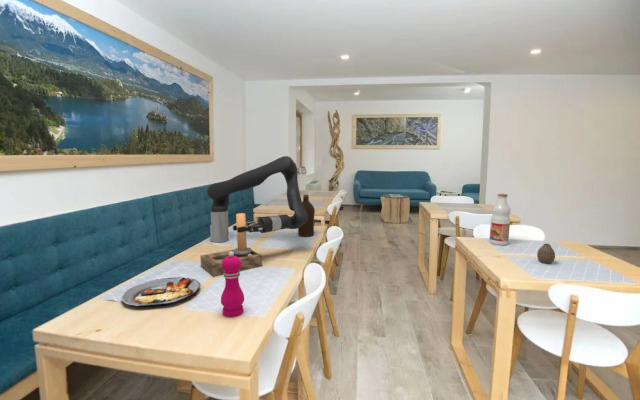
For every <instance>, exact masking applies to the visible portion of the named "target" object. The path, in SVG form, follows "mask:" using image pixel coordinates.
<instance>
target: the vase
mask: <svg viewBox="0 0 640 400" xmlns="http://www.w3.org/2000/svg"><path fill="white" fill-rule="evenodd" d="M536 256H537V260H538V262H540V263H541V264H545V265H551V264H552V263H553V262H554V261H555V259H556V252H555V249H553V247H552V246H551V244H550V243H543V244H542V246H541V247H539V248H538V251H537V254H536Z"/></svg>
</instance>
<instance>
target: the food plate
mask: <svg viewBox="0 0 640 400" xmlns="http://www.w3.org/2000/svg"><path fill="white" fill-rule="evenodd" d="M199 288H201V283H200V281H198V280H197V279H195V278H190V277H182V276H177V277H166V278H156V279H151V280H149V281H145V282H143V283H140V284H137V285H134V286H132V287H130V288H129V289H127V290H126V291H125V292H124V293H123V294H122V295H121V297H120V298H121V301H122V302H123V303H125V304H127V305H130V306H135V307H138V306H156V305H162V304H163V305H164V304H171V303H176V302H180V301H181V300H184V299H188V298H189V297H191V296H192V295H194V294H196V293H197V292H198V291H199Z"/></svg>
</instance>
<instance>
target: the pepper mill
mask: <svg viewBox="0 0 640 400" xmlns="http://www.w3.org/2000/svg"><path fill="white" fill-rule="evenodd" d="M240 268H241V260H240V259H239V258H238V257H237V256H234V252H232V251H230V252H229V253H228V257H226V258H224V259H223V261H222V269H223V270H224V273H223V274H224V275H223V278H225V280H224V281H225V285H224V289H223V291H222V294H221V296H220V303H221V306H223V307H222V315H223V316H225V317H228V318H233V317H234V318H235V317H238V316H240V315H242V314H243V313H244V305H243V304H244V302H245V295H244V291H243V290H242V288H241V285H240V282H239V278H240V275H241V271H239V269H240Z"/></svg>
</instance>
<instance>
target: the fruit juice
mask: <svg viewBox="0 0 640 400" xmlns="http://www.w3.org/2000/svg"><path fill="white" fill-rule="evenodd" d="M507 199H508V194H507V193H497V200H496V202H495V204H494V205H493V207H492V209H491V211H492V216H491V218H490V226H489V227H490V229H489V243H490V244H491V245H494V246H495V245H496V246H507V245H508V244H509V238H510V226H511V217H510V215H511V211H512V210H511V207H510V205H509V204H508V201H507Z"/></svg>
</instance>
